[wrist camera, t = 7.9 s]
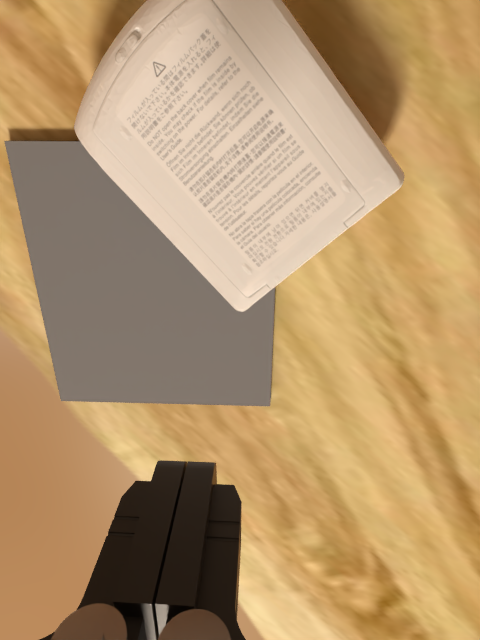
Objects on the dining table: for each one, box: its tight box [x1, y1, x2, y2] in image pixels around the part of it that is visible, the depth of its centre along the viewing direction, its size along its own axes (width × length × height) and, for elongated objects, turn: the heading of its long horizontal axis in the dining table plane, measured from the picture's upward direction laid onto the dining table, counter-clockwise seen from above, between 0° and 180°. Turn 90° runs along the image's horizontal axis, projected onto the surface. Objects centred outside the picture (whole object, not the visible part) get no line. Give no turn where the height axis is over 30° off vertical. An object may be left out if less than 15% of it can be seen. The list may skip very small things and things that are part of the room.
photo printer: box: [74, 0, 404, 312], centre depth 19 cm, size 10×4×12 cm
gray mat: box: [5, 141, 275, 406], centre depth 24 cm, size 14×16×1 cm
